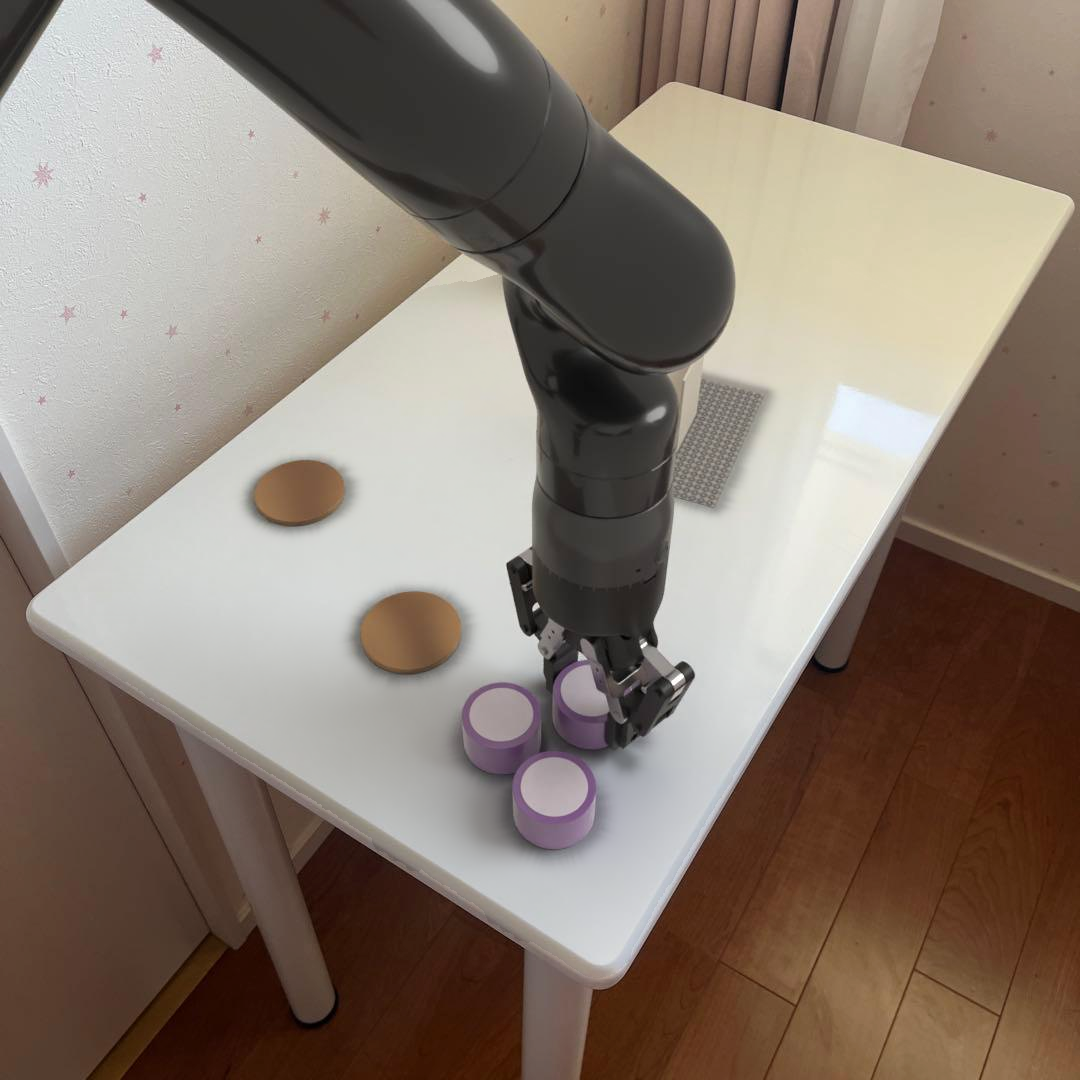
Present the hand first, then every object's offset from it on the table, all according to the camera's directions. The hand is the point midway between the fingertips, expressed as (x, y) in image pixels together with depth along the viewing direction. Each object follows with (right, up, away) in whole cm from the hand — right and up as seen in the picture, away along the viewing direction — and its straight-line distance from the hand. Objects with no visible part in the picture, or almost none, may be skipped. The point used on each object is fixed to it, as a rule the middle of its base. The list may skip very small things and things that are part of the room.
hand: (591, 712), depth 72 cm
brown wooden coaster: (-12, +5, +5) cm, 14 cm away
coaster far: (-22, +15, +15) cm, 31 cm away
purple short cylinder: (0, 0, +1) cm, 1 cm away
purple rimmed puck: (-3, -6, -4) cm, 7 cm away
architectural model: (+8, +20, +20) cm, 30 cm away
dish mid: (-6, -2, -1) cm, 6 cm away
